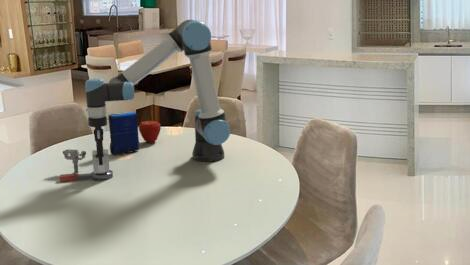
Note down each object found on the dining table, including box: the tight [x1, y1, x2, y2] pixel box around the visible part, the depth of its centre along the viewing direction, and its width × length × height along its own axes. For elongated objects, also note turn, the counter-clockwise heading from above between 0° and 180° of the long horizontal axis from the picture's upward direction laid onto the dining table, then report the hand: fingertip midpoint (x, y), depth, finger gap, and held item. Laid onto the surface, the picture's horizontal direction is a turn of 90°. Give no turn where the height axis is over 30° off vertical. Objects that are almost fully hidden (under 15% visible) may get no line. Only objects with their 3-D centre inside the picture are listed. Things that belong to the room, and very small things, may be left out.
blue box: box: [107, 111, 140, 156], centre depth 273 cm, size 14×5×20 cm, turn 122°
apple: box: [138, 119, 162, 144], centre depth 292 cm, size 11×11×12 cm
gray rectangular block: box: [91, 149, 110, 173], centre depth 238 cm, size 6×6×8 cm
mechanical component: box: [62, 149, 87, 174], centre depth 245 cm, size 3×10×10 cm, turn 79°
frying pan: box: [59, 169, 114, 183], centre depth 237 cm, size 22×9×8 cm, turn 103°
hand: (101, 169), depth 239 cm, fingers closed on gray rectangular block, 6 cm apart
